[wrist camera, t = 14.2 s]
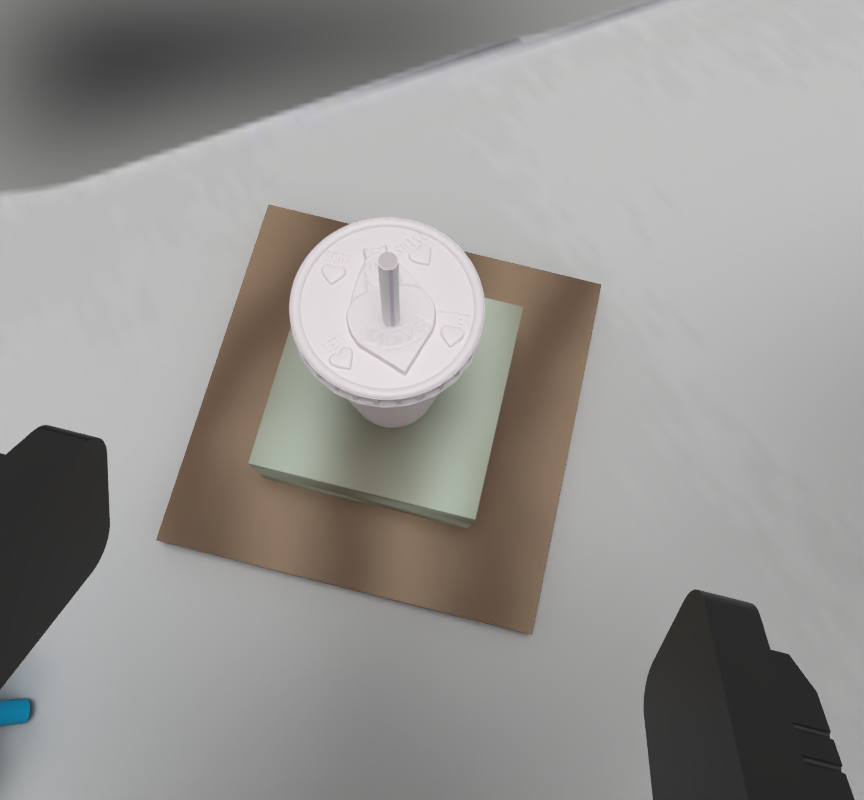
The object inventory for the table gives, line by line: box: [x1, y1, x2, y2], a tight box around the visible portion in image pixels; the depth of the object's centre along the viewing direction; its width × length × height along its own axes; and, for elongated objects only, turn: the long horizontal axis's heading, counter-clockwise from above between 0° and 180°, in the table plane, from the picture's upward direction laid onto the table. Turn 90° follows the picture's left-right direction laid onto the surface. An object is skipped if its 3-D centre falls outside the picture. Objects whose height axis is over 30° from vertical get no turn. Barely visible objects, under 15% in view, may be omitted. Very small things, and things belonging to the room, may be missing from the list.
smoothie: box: [289, 217, 485, 428], centre depth 27 cm, size 6×6×14 cm
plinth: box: [156, 205, 601, 634], centre depth 36 cm, size 18×18×5 cm
